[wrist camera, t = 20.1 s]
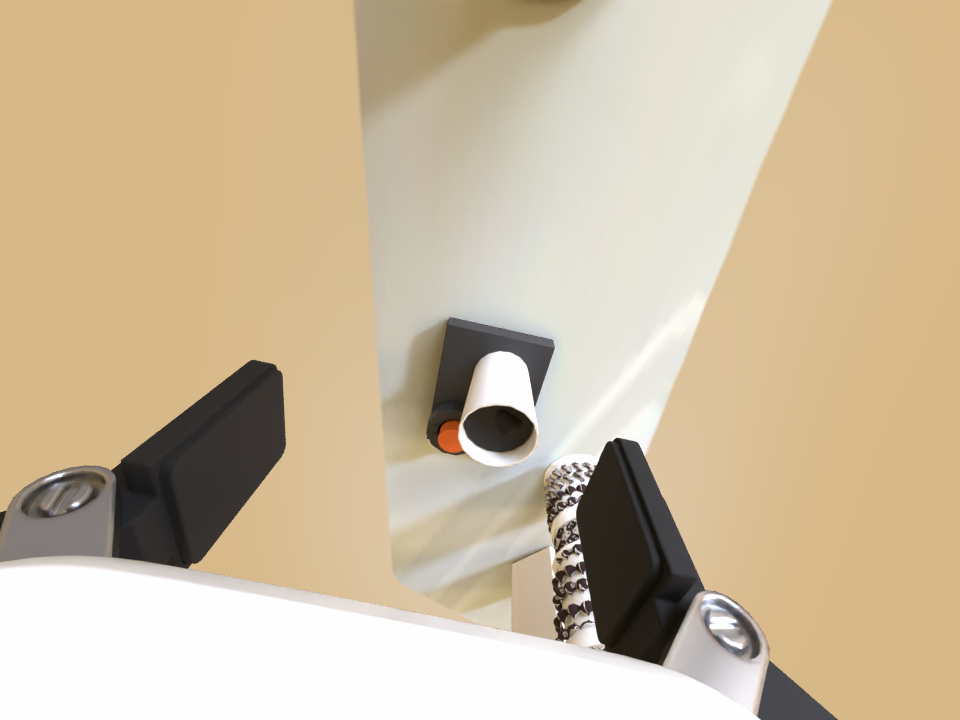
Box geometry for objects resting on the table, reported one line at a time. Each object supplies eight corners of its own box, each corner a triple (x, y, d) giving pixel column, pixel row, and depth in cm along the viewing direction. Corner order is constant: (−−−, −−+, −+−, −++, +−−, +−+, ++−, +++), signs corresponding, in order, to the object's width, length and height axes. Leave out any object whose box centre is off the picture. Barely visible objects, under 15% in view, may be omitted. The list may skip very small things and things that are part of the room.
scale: (449, 316, 40) (444, 330, 37) (553, 339, 40) (556, 354, 37) (429, 429, 47) (423, 448, 44) (517, 448, 47) (517, 468, 44)
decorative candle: (555, 443, 46) (594, 702, 24) (627, 462, 47) (729, 733, 25) (530, 494, 50) (544, 755, 28) (596, 511, 51) (660, 780, 29)
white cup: (498, 334, 38) (493, 387, 29) (546, 374, 40) (556, 435, 31) (456, 377, 41) (441, 437, 32) (503, 412, 42) (501, 479, 34)
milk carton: (539, 586, 59) (550, 754, 43) (511, 562, 57) (510, 729, 40) (578, 570, 57) (606, 742, 40) (549, 544, 55) (566, 714, 38)
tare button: (442, 416, 42) (440, 426, 40) (471, 423, 42) (469, 433, 40) (438, 439, 43) (435, 449, 42) (466, 445, 43) (464, 455, 42)
